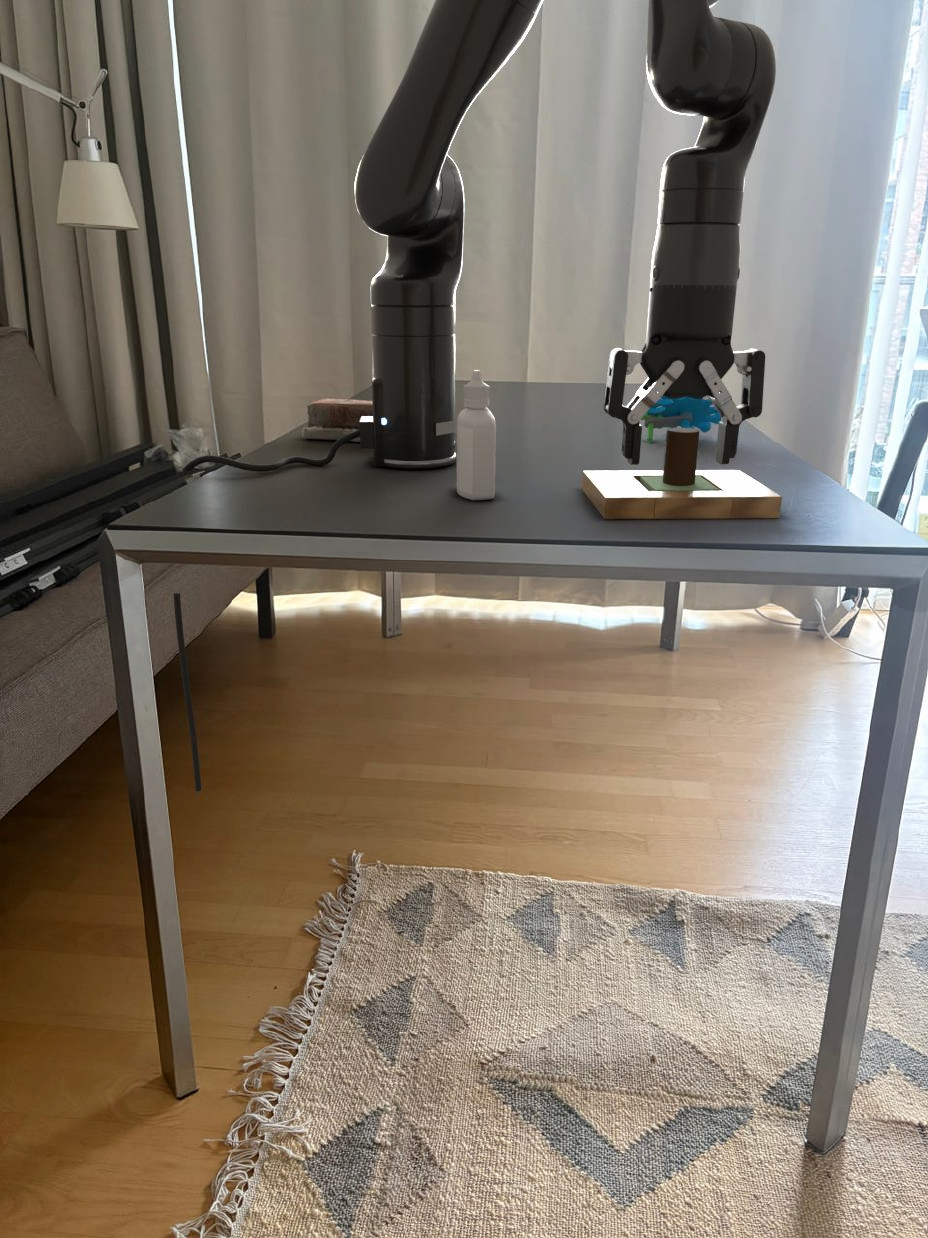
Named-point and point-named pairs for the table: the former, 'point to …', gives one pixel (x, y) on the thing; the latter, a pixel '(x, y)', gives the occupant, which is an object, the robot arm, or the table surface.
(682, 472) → the peg on green base
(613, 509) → the wooden board
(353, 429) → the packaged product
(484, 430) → the eye dropper bottle
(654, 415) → the gear
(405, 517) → the table surface
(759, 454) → the table surface
